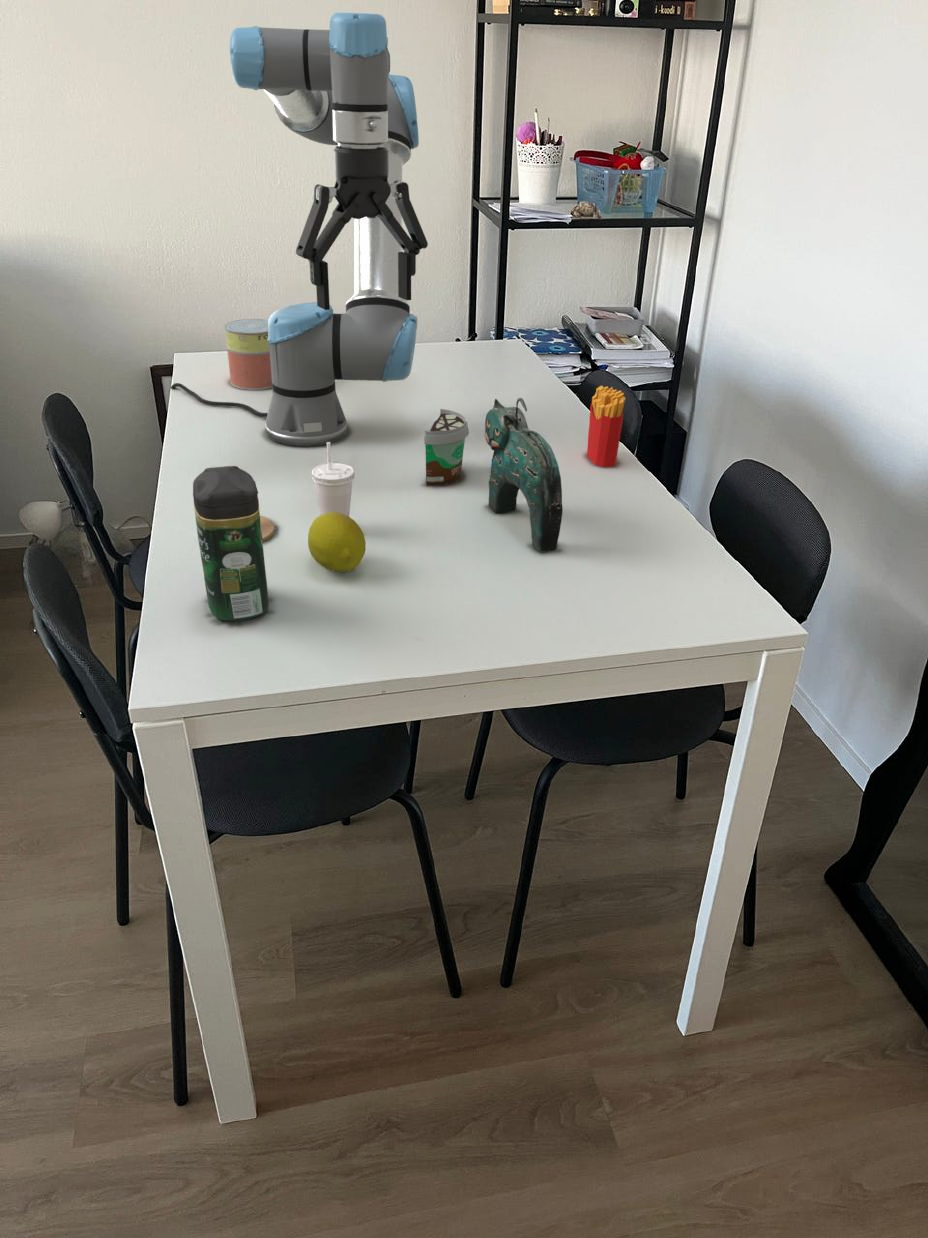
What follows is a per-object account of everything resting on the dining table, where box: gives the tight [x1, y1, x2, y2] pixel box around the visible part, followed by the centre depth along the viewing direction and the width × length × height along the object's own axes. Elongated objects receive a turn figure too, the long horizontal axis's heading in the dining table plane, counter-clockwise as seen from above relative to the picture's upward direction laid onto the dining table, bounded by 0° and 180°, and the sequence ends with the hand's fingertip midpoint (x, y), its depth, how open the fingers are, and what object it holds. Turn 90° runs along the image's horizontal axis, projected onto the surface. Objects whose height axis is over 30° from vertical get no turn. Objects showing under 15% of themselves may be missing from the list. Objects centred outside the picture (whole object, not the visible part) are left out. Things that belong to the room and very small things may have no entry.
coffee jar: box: [192, 465, 270, 622], centre depth 121 cm, size 10×8×19 cm
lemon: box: [307, 512, 367, 573], centre depth 133 cm, size 11×8×8 cm
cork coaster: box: [260, 515, 276, 543], centre depth 144 cm, size 10×10×1 cm
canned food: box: [224, 318, 272, 391], centre depth 202 cm, size 11×11×12 cm
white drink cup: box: [311, 442, 356, 517], centre depth 142 cm, size 6×6×14 cm
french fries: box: [586, 385, 626, 468], centre depth 169 cm, size 9×4×13 cm, turn 15°
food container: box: [424, 408, 470, 487], centre depth 161 cm, size 12×6×10 cm, turn 168°
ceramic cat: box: [484, 397, 564, 553], centre depth 143 cm, size 20×6×20 cm, turn 23°
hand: (365, 303), depth 142 cm, fingers open, 13 cm apart
